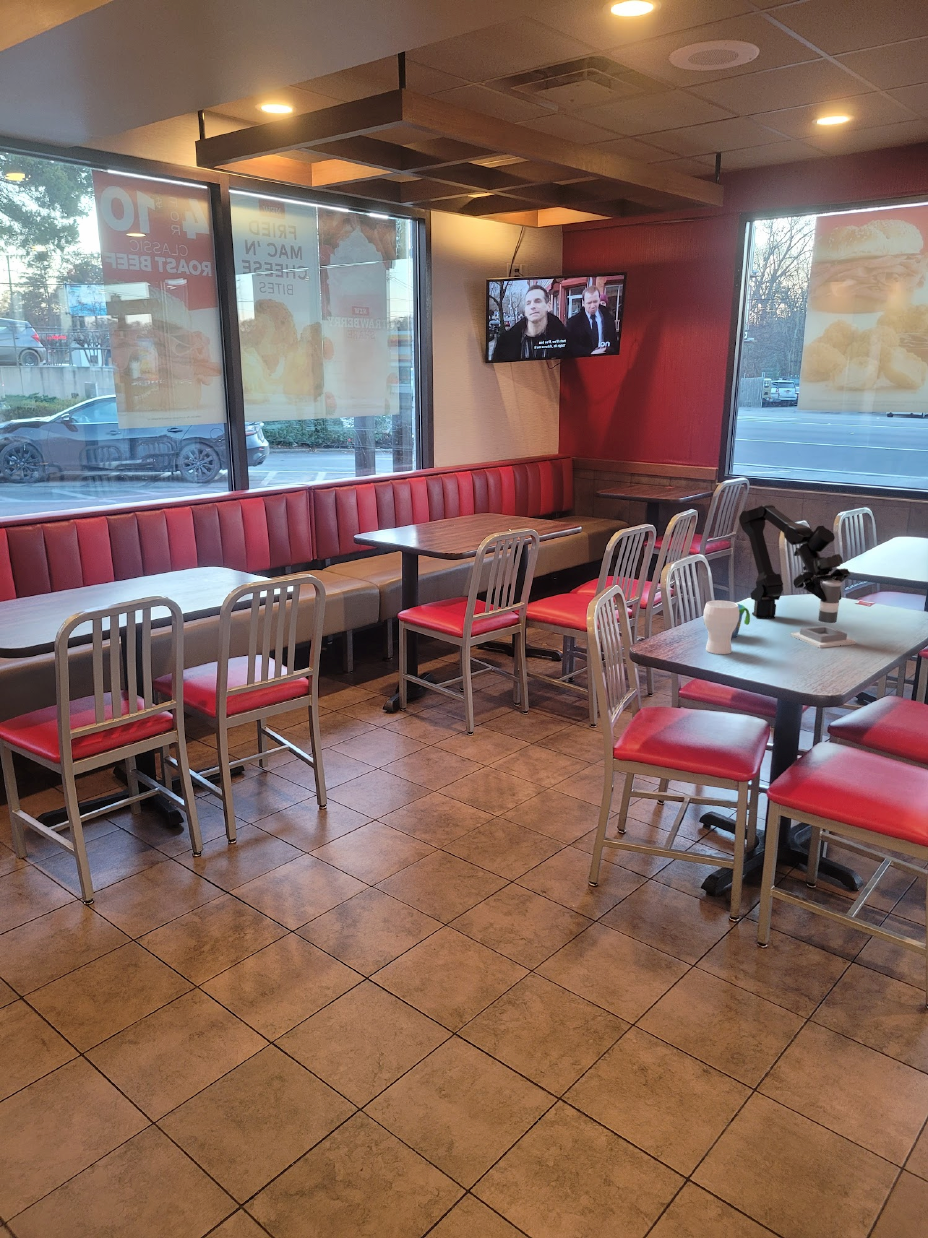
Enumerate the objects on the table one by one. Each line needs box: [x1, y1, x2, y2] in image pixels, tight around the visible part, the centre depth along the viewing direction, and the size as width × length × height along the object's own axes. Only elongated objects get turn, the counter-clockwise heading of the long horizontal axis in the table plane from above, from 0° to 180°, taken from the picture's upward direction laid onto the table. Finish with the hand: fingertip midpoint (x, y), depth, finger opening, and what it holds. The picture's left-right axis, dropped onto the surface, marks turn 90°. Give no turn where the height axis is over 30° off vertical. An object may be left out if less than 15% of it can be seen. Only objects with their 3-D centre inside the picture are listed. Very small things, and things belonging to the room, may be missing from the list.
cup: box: [703, 599, 739, 655], centre depth 278 cm, size 11×11×15 cm
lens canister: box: [818, 580, 842, 624], centre depth 288 cm, size 6×6×13 cm
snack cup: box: [703, 602, 751, 638], centre depth 295 cm, size 16×10×10 cm
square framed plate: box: [790, 625, 857, 649], centre depth 291 cm, size 14×14×3 cm
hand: (832, 600), depth 287 cm, fingers closed on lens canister, 5 cm apart
